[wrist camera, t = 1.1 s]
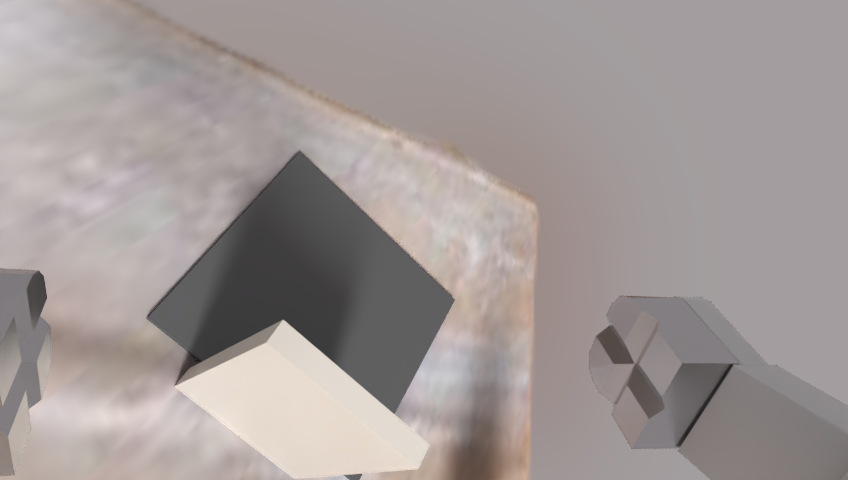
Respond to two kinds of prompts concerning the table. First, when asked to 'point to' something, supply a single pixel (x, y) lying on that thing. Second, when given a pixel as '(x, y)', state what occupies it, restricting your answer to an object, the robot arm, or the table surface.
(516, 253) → the table surface
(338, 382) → the tile
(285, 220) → the mat
